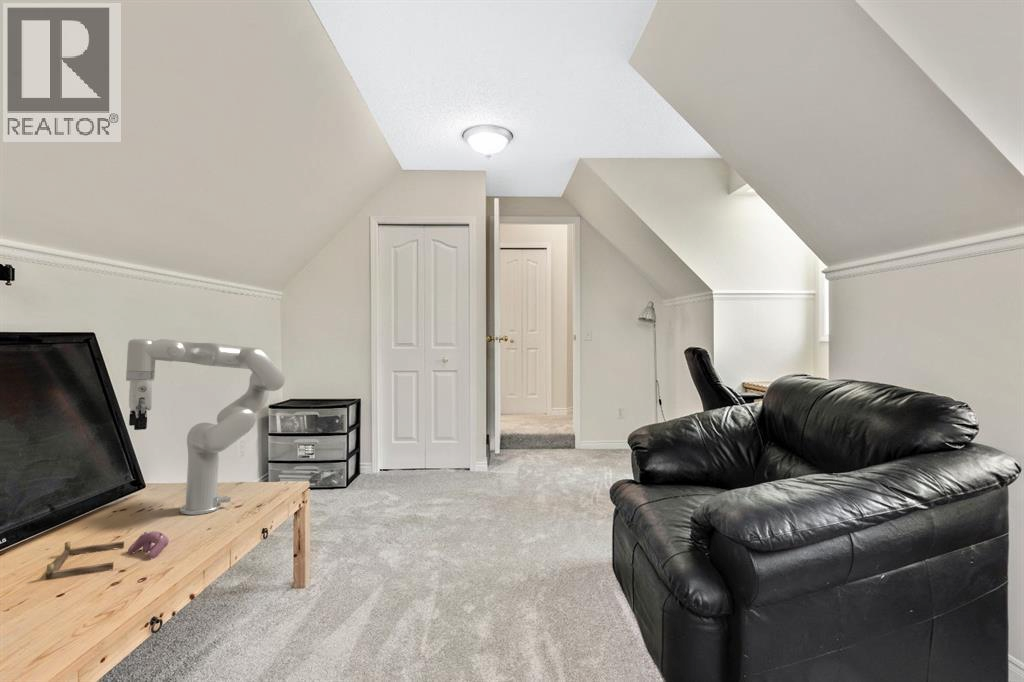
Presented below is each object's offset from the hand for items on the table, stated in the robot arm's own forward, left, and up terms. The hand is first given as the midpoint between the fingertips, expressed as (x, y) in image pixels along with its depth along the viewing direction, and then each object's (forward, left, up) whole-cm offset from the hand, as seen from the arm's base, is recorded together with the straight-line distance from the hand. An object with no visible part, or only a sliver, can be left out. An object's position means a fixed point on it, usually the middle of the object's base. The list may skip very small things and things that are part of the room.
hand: (137, 427), depth 159 cm
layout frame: (+5, +28, -32) cm, 43 cm away
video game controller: (-8, +28, -33) cm, 44 cm away
